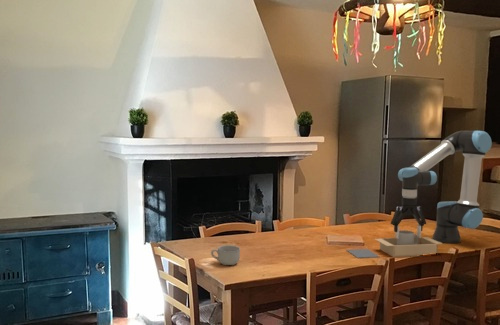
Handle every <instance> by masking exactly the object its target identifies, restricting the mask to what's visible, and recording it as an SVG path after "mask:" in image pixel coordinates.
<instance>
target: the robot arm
mask: <svg viewBox="0 0 500 325" xmlns="http://www.w3.org/2000/svg"><path fill="white" fill-rule="evenodd" d="M492 144H493V142H492V138H491V136H490V135H489V133H488V132H486V131H484V130H459V131H458V130H457V131H456V132H454V133H452V134H450V135H448V136H447V137H445V138H444V139H442V140H441V141H440V144H439V145H438V146H436V147H435V148H433V149H432V150H430V151H429V152H428V153H426V154H425V155H424V156H422V157H421V158H420V159H418V160H417V161H416V162H414V163H413V164H412V165H410V166H409V167H403V168H401V169H400V170H398V173H397V178H398V179H399V181H401V182H402V183H401V184H402V185H401V186H402V187H401V196H402V197H401V206H395V210H394V214H393V216H392V219H391V221H390V225H392V226H393V232H395V234H394V235H395V236H394V238H397V239H399V231H400V226H399V225H400V223H401V222H402V220H403V219H404V218H405V217H406V216H409V215H410V216H413V218H414V219H415V221H416V222H417V223H418V224H417V225H416V226H417V227H416V235H417V237H418V238H421V237H422V232H423V227H424V225H427V220H426V219H425V216H424V215H425V214H424V212H423V207H422V206H420V205H418V206H417V203H418V187H419V186H432V185H435V184H436V182H437V180H438V176H437V173H436V172H435V171H433V170H431V169H432V168H433V167H434V166H436V165H437V164H438V163H439V162H441V161H442V160H444V159H445V158H446V157H448V156H449V155H454V154H455V153H456V152H462V155H463V157H464V161H463V170H462V178H461V186H460V187H461V188H460V195H459V196H460V197H459V199H458V201H456V200H454V201H452V200H451V201H449V200H448V201H439V202H438V203H437V207H436V226H435V229H434V232H433V234H432V239H433V240H436V241H438V242H440V243H443V244H444V243H445V244H458V243H461V240H462V238H461V234H460V232H459V227H461V228H464V229H471V230H473V229H476V228H478V227H479V226H480V225H481V223H482V222H483V218H484V213H483V211H482V210H481V209H480V203H479V202H478V194H479V193H478V192H479V183H480V175H481V169H482V168H481V167H482V160H483V158H485V157H486V153H487V152H489V151H490V150H491V148H492V146H493V145H492ZM416 211H417V212H416ZM418 215H419V216H418Z"/></svg>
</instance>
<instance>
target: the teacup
mask: <svg viewBox="0 0 500 325" xmlns="http://www.w3.org/2000/svg"><path fill="white" fill-rule="evenodd" d="M240 251H241V247H239V246H237V245H233V244H225V245H224V244H223V245H219V246H218V248H213V249H212V250H211V252H210V255H211V257H212V258H213V259H216V261H218V262H219V263H220V264H221V265H223V266H226V265H232V266H234V265H236V264H237V263H238V262H240V258H241V257H240V256H241V252H240ZM214 252H216V253H217V256H216V255H214Z"/></svg>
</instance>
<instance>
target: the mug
mask: <svg viewBox="0 0 500 325" xmlns="http://www.w3.org/2000/svg"><path fill="white" fill-rule="evenodd" d="M414 237H415V243H414ZM417 242H418V238H417V234H416V233H415V232H414V231H411V230H399V239H397V245H417Z"/></svg>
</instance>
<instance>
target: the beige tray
mask: <svg viewBox="0 0 500 325" xmlns="http://www.w3.org/2000/svg"><path fill="white" fill-rule="evenodd" d="M417 238H418V237H417ZM374 240H375V241H377V242H379V250H381V251H382V252H384V253H385V254H387V255H389V256H391V257H392V258H402V257H403V258H406V257H407V258H408V257H409V258H410V256H411V257H418V256H417V255H423V254H430V253H437V254H438V245H443V244H444V243H443V242H438V241H436V240H433V238H431V237H428V236H421V238H418V242H417V245H397V238H395V237H383V238H374ZM414 243H415V237H414Z"/></svg>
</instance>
